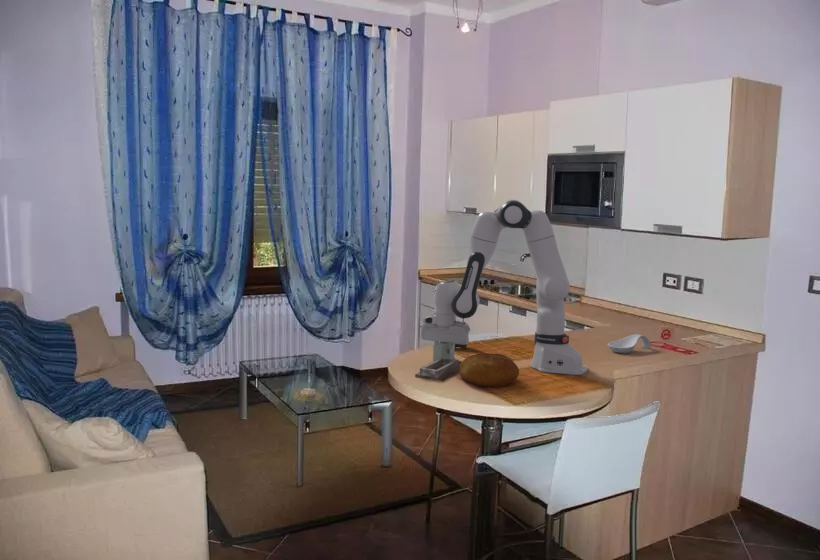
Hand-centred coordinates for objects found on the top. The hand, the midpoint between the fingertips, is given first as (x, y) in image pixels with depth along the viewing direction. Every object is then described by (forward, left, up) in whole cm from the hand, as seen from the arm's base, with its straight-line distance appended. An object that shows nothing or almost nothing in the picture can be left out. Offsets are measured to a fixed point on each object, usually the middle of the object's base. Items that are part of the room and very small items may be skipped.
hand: (444, 352), depth 278 cm
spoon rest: (-64, -65, -4) cm, 91 cm away
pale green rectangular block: (0, 0, -4) cm, 4 cm away
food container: (+6, -29, -4) cm, 30 cm away
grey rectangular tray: (-6, +18, -4) cm, 19 cm away
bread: (-26, +18, -4) cm, 32 cm away
